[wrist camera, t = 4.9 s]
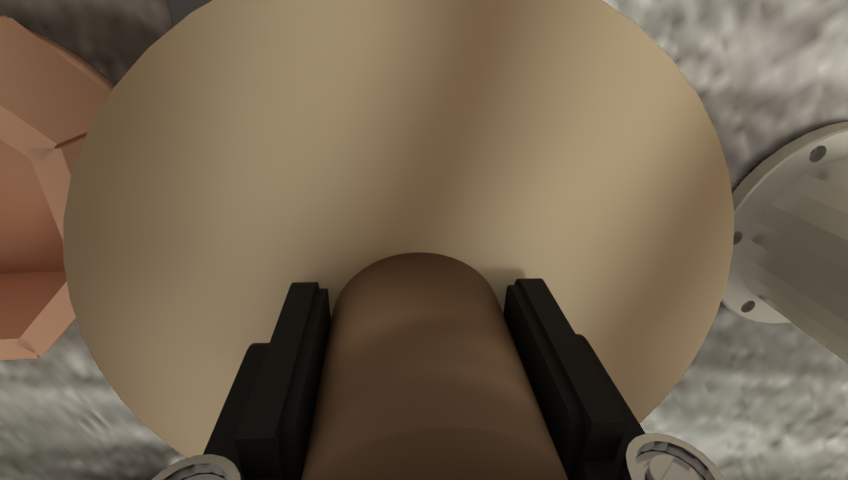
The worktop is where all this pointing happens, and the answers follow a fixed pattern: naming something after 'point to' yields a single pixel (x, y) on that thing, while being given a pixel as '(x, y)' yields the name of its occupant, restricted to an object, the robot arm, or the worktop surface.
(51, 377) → the worktop surface
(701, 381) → the worktop surface
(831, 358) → the worktop surface
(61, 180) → the bowl
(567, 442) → the robot arm
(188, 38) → the lid
